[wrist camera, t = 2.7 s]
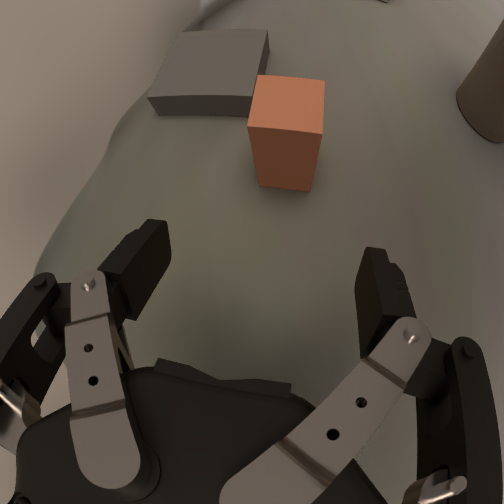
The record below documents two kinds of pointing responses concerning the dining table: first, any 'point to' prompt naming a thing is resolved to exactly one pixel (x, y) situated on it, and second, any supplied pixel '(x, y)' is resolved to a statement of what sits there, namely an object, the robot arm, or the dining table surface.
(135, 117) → the dining table surface
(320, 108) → the brick pillar
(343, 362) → the dining table surface
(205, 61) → the charcoal block
